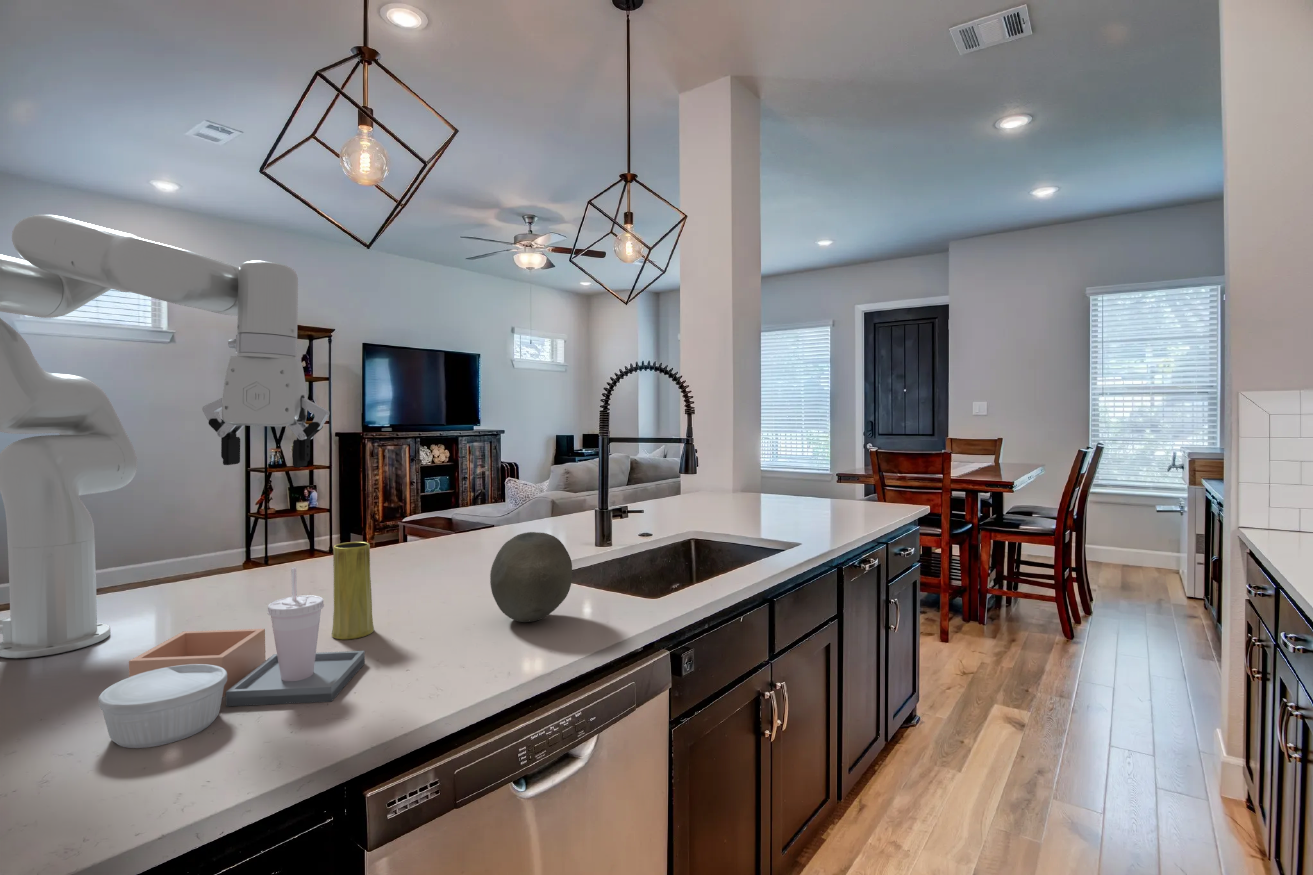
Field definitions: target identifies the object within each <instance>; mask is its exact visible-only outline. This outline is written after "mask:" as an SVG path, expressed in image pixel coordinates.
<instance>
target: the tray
mask: <svg viewBox="0 0 1313 875" xmlns="http://www.w3.org/2000/svg"><path fill="white" fill-rule="evenodd" d="M365 651H366V650H349V651H348V650H347V651H346V650H345V651H325V652H324V651H321V652H316V656H315V664H314V673H313V675H312V676H310V677H308V678H306V679H302V680H298V681H283V680H281V675H280V669H279V663H278V657H277V653H273V654H272V655H270V656H269V657H268V658H266V661H264V662H263V663H262V664H261V665H259V666H258V667H257V668H255V669H254V670H253V671H252V672H250V673H249V674H248V675H247V676H245V677H244V678H243V679H241V680H240V681H239V682H238V683H236V684H235V685H234V686H232V687H231V688H230V689H229V690H227V691H226V696H225V707H243V706H244V707H245V706H261V705H262V706H265V705H266V706H267V705H280V704H281V705H286V704H287V705H288V704H304V703H305V704H306V703H323V702H324V703H325V702H326V703H329V702H332V701H333V700H334V699H335V698H336V697H337V696H338V695H339V693H341V692H342V690H343V689H344V688H345V687H346V686H347V685H348V683H349V682H350V681H351V680H352V679H353V677H354V676H355V675H356V674H357V673H358V672H359V671H360V669H361V668H362V667H363V666H364V665H365V664H366V661H365V660H366V658H365V657H366V656H365Z"/></svg>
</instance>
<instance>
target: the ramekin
mask: <svg viewBox="0 0 1313 875" xmlns="http://www.w3.org/2000/svg"><path fill="white" fill-rule="evenodd" d="M226 682H227V672H226V670H225V669H223V668H222V667H219V666H215V665H208V664H188V665H178V666H171V667H165V668H160V669H156V670H152V671H147V672H144V673H140V674H137V675H134V676H131V677H129V676H128V677H127V678H124V679H122V680H120V681H117V682H115V683H113V684H112V685H110V686H108V687H107V688H106V689H104V690H102V692H101V693H100V695H99V696H98V707H99V709H100V710H101V711H102V713H103V717H104V721H105V725H106V729H107V733H108V735H109V738H110V740H111V741H112V742H114V743H115V744H116V745H118V746H119V747H123V748H128V749H129V748H130V749H144V748H145V749H146V748H152V747H159V746H164V745H168V744H171V743H175V742H178V741H181V740H184V739H186V738H189V737H190V738H191V737H192V736H194V735H196V734H198V733H200V732H202V731H203V730H205V729H207V728H208V727H209V726H211V724H212V723H213V722H214V721H215V719H217V718H218V715H219V712H220V710H221V704H222V699H223V697H222V695H223V689H224V685H225V684H226Z"/></svg>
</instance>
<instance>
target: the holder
mask: <svg viewBox="0 0 1313 875" xmlns="http://www.w3.org/2000/svg"><path fill="white" fill-rule="evenodd" d="M266 660H267V658H266V628H251V629H250V628H245V629H244V628H243V629H242V628H241V629H221V630H220V629H215V630H213V629H211V630H187V631H186V630H185V631H181V632H179V633H178V634H176V635H174V636H172V637H171V638H168V639H167V640H165V641H162V642H161V643H159V644H157V645H156V646H154V647H152V648H150V649H148V650H146V651H145V652H143V653H141V654H140V655H137V656H136V657H133V658H132V659H129V661H128V668H129V670H128V671H129V672H128V673H129V674H128V678H129V677H131V676H134V675H137V674H140V673H144V672H147V671H152V670H156V669H160V668H165V667H171V666H178V665H188V664H208V665H215V666H219V667H222V668H223V669H225V670H226V672H227V682H226V684H225V685H224V689H223V695H222V698H225V697H226V691H227V690H229V689H230V688H231V687H232V686H234V685H235V684H236V683H238V682H239V681H240V680H241V679H243V678H244V677H245V676H247V675H248V674H249V673H250V672H252V671H253V670H254V669H255V668H257V667H258V666H259V665H261V664H262V663H263V662H264V661H266Z"/></svg>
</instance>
